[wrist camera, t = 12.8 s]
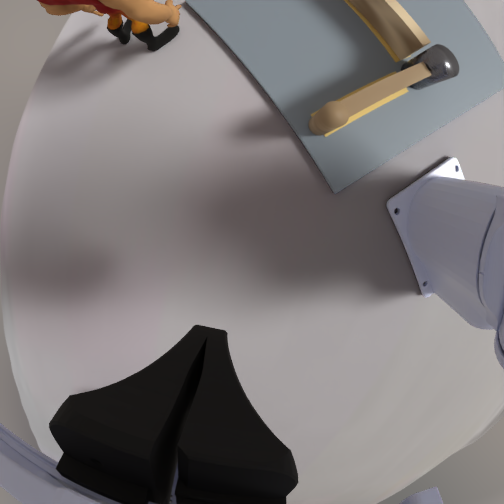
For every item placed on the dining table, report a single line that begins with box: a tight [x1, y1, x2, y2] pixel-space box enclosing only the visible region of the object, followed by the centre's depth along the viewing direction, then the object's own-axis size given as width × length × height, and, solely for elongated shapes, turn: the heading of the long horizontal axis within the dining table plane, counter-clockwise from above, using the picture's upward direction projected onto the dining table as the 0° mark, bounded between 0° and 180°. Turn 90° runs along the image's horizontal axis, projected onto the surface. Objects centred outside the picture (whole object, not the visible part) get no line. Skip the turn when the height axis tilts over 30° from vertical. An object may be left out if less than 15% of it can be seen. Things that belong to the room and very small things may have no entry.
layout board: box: [185, 0, 504, 194], centre depth 13 cm, size 19×26×1 cm
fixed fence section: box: [308, 62, 432, 136], centre depth 13 cm, size 1×9×4 cm, turn 124°
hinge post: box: [401, 44, 459, 90], centre depth 12 cm, size 2×2×4 cm
